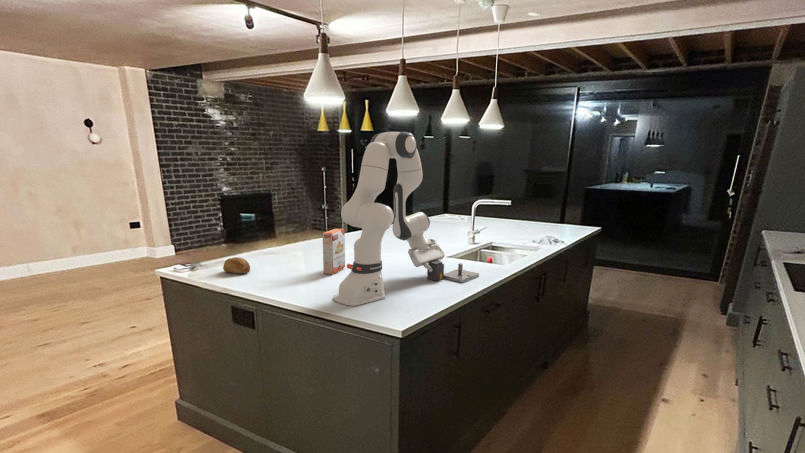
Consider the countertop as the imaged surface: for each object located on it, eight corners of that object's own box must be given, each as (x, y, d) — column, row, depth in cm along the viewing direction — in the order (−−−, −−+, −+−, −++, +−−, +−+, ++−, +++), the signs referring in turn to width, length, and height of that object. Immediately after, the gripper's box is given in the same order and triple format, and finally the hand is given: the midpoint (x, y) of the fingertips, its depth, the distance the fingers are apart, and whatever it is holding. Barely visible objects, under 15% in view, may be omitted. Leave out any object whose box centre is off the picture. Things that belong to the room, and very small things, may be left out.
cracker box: (334, 275, 194) (332, 233, 190) (323, 274, 196) (321, 232, 192) (346, 267, 207) (345, 228, 204) (335, 266, 209) (334, 228, 205)
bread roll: (241, 277, 192) (240, 261, 191) (218, 274, 198) (216, 258, 196) (255, 272, 201) (254, 256, 200) (232, 269, 206) (231, 254, 205)
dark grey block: (437, 281, 182) (437, 264, 181) (427, 278, 186) (427, 262, 185) (444, 278, 186) (445, 262, 185) (434, 276, 190) (434, 259, 189)
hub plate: (462, 283, 180) (462, 269, 179) (441, 277, 188) (441, 264, 187) (478, 276, 191) (479, 263, 189) (458, 271, 199) (458, 259, 197)
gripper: (410, 245, 181) (426, 270, 176) (437, 239, 196) (453, 261, 191) (402, 253, 185) (418, 278, 180) (430, 246, 200) (445, 269, 195)
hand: (436, 269), depth 186 cm, fingers closed on dark grey block, 5 cm apart
